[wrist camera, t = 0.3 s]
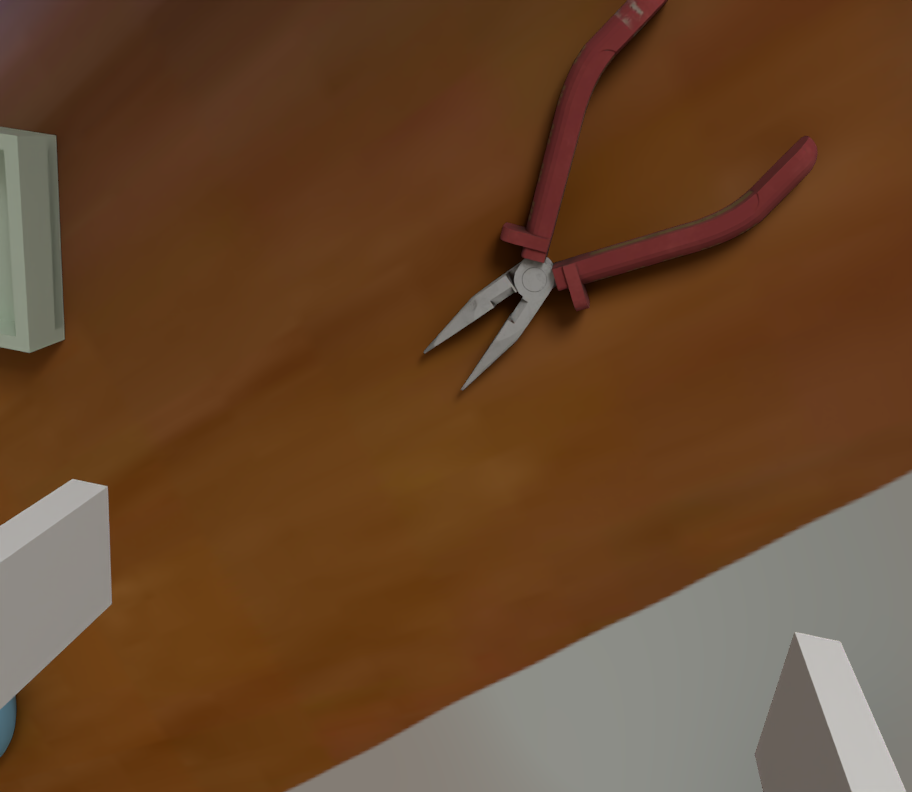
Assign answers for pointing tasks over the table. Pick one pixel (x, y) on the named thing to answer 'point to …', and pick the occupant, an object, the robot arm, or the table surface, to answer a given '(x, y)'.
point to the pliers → (542, 275)
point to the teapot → (7, 724)
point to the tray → (29, 242)
